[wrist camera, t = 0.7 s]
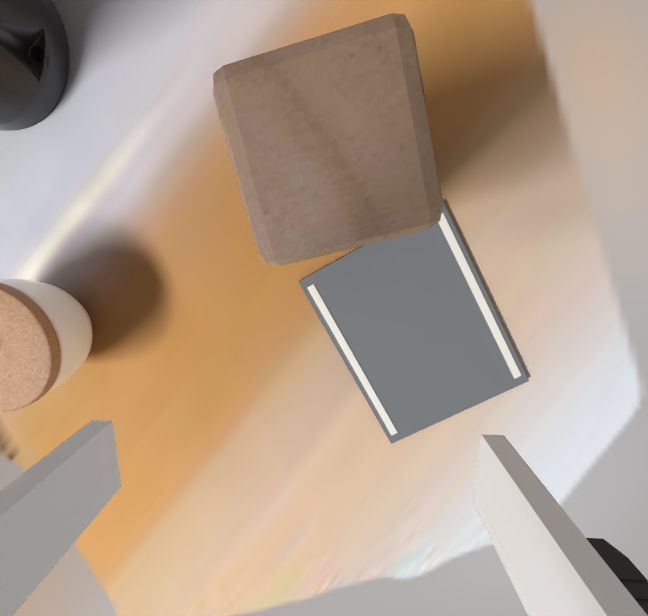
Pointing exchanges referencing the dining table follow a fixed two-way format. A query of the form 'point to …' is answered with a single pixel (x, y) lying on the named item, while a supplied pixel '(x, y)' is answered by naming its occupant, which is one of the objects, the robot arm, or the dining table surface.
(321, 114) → the wooden block
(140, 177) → the dining table surface
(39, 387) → the lidded bowl
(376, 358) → the mat
